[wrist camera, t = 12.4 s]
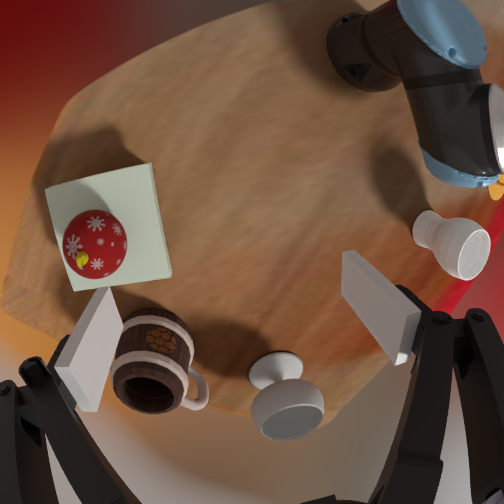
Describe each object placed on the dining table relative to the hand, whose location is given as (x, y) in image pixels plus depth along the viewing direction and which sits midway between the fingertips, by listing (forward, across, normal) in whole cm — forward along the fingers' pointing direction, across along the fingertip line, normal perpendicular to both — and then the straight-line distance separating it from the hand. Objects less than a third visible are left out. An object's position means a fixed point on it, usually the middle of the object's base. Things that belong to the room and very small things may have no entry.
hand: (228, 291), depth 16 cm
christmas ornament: (+24, -16, -2) cm, 29 cm away
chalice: (+32, +7, -40) cm, 52 cm away
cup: (+33, +41, -12) cm, 54 cm away
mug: (+32, -14, -28) cm, 45 cm away
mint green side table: (+32, -16, -2) cm, 36 cm away
